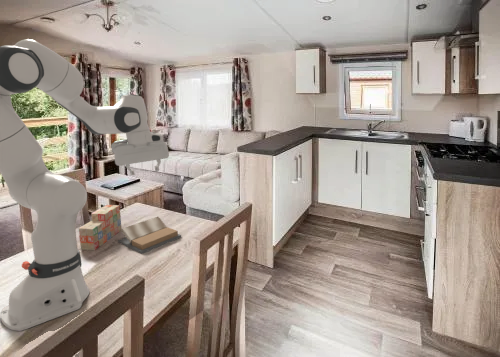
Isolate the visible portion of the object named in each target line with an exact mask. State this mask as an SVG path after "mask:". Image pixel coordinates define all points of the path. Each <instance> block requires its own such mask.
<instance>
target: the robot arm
mask: <svg viewBox="0 0 500 357" xmlns="http://www.w3.org/2000/svg"><path fill="white" fill-rule="evenodd" d="M84 85H85V83H84V76H83V75H82V73H81V71H80V70H79V69H78V68H77V67H76V66H75V65H73V64H72V63H71V62H70V61H68V60H67V59H66V58H64V57H63V56H62V55H60V54H59V53H57V52H56V51H54V50H53V49H51V48H49V47H48V46H46V45H44V44H42V43H40V42H38V41H36V40H34V39H29V38H27V39H22V40H19V41H18V42H16V43H15V44H14V45H1V46H0V175H1V176H2V178H3V180H4V182H5V184H6V186H7V188H8V194H9V196H10V197H11V199H12V200H13V201H15V202H16V203H17V204H19V205H21V206H22V207H24V208H26V209H29V210H33V211H35V213H36V215H37V219H36V226H35V229H33V231H32V233H31V235H30V236H31V237H30V240H31V244H32V252H33V257H34V259H33V261H31V263H30V262H29V261H26V260H25V261H23V262H22V263H21V267H22V268H23V269H24V270H25V271H28V274H27V275H26V276H25V278H24V279H23V280H21V282H20V283H19V284H18V285H17V286H15V287H14V288H13V289H12V291H10V293H9V298H8V305H7V306H3V308H2V309H1V311H0V320H1V322H2V324H3V325H4V326H5V327H6V328H7V329H9V330H12V331H19V332H20V331H25V330H27V329H30V328H33V327H35V326H37V325H38V326H39V325H41V324H43V323H45V322H49V321H51V320H54V319H57V318H59V317H61V316H64V315H68V314H70V313H72V312H75V311H77V310H80V309H81V307H82V305H83V302H84V301H85V300H86V299H87V297H88V296H89V294H90V288H89V287H88V285H87V283H86V280H85V277H84V274H83V271H82V256H81V252H80V250H79V249H78V241H77V232H76V225H77V220H78V215H79V212H80V211H82V209H83V208H84V207H85V205H86V203H87V200H88V192H87V189H86V187H85V186H84V185H83V184H82V183H81V182H79V181H78V180H76V179H74V178H71V177H70V176H68V175H67V176H66V175H61V174H57V173H53V172H52V171H50V170H49V169H48V168H47V166H46V163H45V161H44V159H43V154H44V152H43V151H44V150H43V148H42V146H41V144H39V142H38V140H37V139H36V137H35V136H34V134H32V132H31V131H30V129H29V128H28V126H27V125H26V123H25V122H24V121H23V120H22V118H21V117H20V115H18V113H17V112H16V111H15V109H14V107H13V104H12V97H11V95H15V94H24V93H27V92H30V91H32V90H34V89H35V88H37V89H39V90H40V91H42V92H43V93H45V94H46V95H48V96H50V97H51V99H53V101H54V102H56V103H57V104H58V105H59V106H61V107H62V108H63V109H64V110H66V111H67V112H68V113H70V114H71V115H73V116H74V117H75V118H77V119H78V120H79V121H80V122H82V124H83V125H84V127H85V128H86V129H87V130H88V131H89V132H90V133H91V134H93V135H97V136H102V135H117V134H118V135H119V134H120V135H121V134H125V137H126V139H122V140H116V141H115V140H114V142H112V143H111V145H110V148H111V152H112V153H114V154H113V155H114V156H113V157H114V164H115V165H116V166H117V167H118V166H119V167H120V166H125V168H126V169H127V170H128V171H129V174H130V176H134V175H136V174H135V170H134V169H132V168H131V165H133V164H137V163H139V164H140V163H145V162H152V161H156V162H157V163H156V165H154V170H155V172H158V171H160V165H161V163H162V161H161V160H164V159H168V158H169V157H170V152H169V148H168V145H167V143H166V142H165V141H164V135H163V134H162V133H158V132H153V131H151V130H150V129H151V128H150V126H149V124H148V120H149V118H148V117H149V116H148V112H147V107H146V104H145V103H146V102H145V101H144V98H143V97H142V96H141V95H139V94H138V95H137V94H123V95H121V97H120V100H119V101H118V102H117V103H115V104H113V106H96V105H91V104H90V103H88V102H87V100H85V99H84V98H83V97H82V96H80V95H81V94H82V92H83V90H84V87H85V86H84Z"/></svg>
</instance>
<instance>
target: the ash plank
mask: <svg viewBox="0 0 500 357" xmlns="http://www.w3.org/2000/svg"><path fill="white" fill-rule="evenodd" d="M167 227H168V226H167V224H165V223H164V221H163V220H162V219H161V218H160V217H159V216H156V217H153V218H150V219H147V220H143V221H141V222H137V223H134V224H131V225H128V226H125V227H122V230H121V233H122V234H123V235H124V236H125V237H126V238H127V239H128V240H129V242H130V243H132V240H135V239H137V238H140V237H143V236H145V235H148V234H151V233H153V232H156V231H159V230H161V229H164V228H167ZM125 237H124V238H125Z"/></svg>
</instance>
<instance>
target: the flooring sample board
mask: <svg viewBox="0 0 500 357" xmlns="http://www.w3.org/2000/svg"><path fill="white" fill-rule="evenodd" d="M180 237H181V238H182V234H180V233H178V230H176V229H174V228H171V227H168V226H167V228H164V229H161V230H159V231H156V232H153V233H151V234H148V235H145V236H143V237H140V238H137V239H135V240H132V243H130V242H129V240H128V239H127V238H126V237H122V238H120V239H118V240H117V243H119V244H121V245H123V246H125V247H126V248H129V249H131V250H133V251H134V252H135V251H136V252H137V253H140V254H145V253H147V252H149V251H151V250H154V249H156V248H159V247H162V246H164V245H167V244H168V243H171V242H173V241H175V240H178V239H181V238H180Z"/></svg>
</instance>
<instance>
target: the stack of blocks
mask: <svg viewBox="0 0 500 357" xmlns="http://www.w3.org/2000/svg"><path fill="white" fill-rule="evenodd" d="M120 207H121V206H120V205H117V204H115V205H114V204H106V205H104V206H101V207H100V208H98V209H96V210H95V211H93V212H91V213H90V215H91V220H90V221H89V222H87V223H85V224H84V225H82V226H80V227H79V228H78V236H79V244H80V250H86V251H87V250H88V251H96V250H98V249H99V248H100V247H101V246H103V245H104V244H105V243H106V242H108V241H109V240H110V239H112V238H113V237H114V236H116V235H117V234H118V233H120V232H122V228H123V227H122V216H121V208H120Z"/></svg>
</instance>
